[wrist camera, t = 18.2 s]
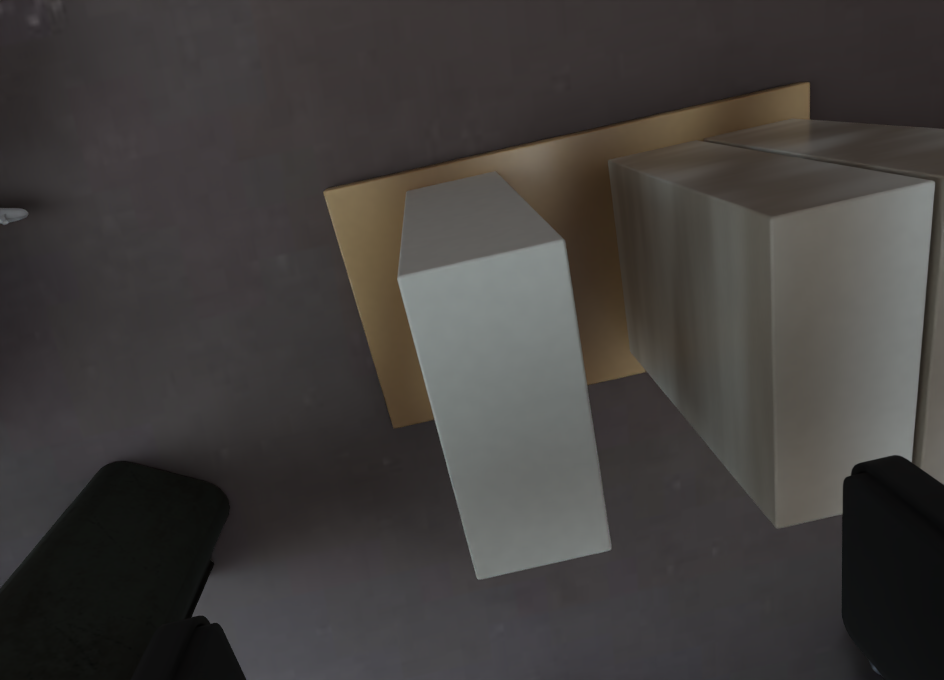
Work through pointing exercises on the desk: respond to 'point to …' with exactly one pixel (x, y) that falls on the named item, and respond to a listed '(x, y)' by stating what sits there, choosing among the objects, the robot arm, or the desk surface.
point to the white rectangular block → (503, 373)
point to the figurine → (12, 215)
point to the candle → (110, 575)
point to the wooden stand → (722, 281)
